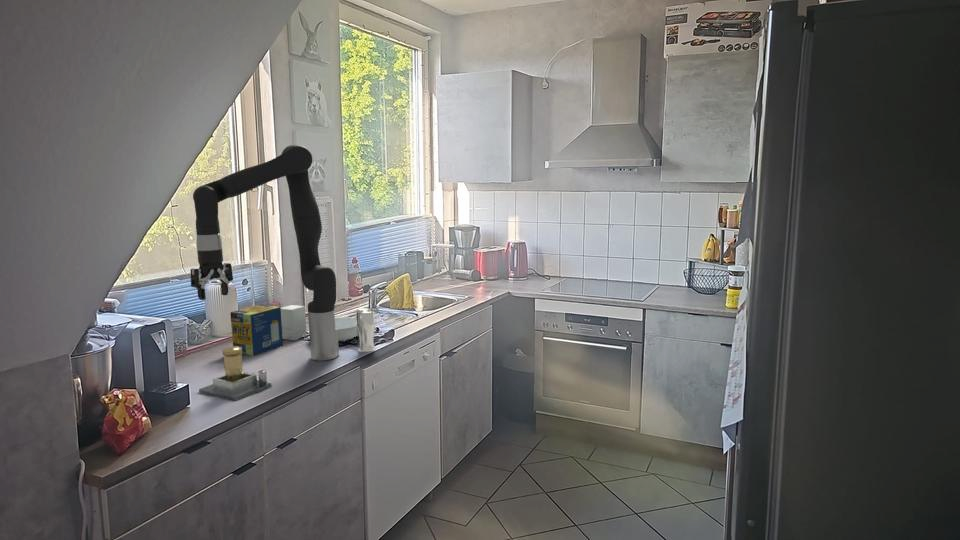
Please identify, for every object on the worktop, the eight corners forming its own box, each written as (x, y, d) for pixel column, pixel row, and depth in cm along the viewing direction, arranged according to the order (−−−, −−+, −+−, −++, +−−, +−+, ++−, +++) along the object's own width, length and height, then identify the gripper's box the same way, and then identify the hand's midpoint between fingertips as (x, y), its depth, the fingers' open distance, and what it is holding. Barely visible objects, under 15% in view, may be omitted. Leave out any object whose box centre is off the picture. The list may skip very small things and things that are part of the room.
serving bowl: (370, 332, 264) (370, 316, 263) (356, 347, 244) (355, 329, 243) (321, 332, 266) (320, 316, 265) (303, 346, 246) (302, 329, 245)
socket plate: (236, 378, 209) (235, 364, 208) (271, 386, 201) (270, 371, 200) (199, 392, 197) (197, 376, 196) (234, 400, 189) (233, 384, 188)
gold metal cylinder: (237, 381, 203) (234, 344, 200) (248, 384, 200) (245, 347, 197) (221, 386, 198) (218, 349, 196) (233, 390, 195) (230, 352, 193)
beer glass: (353, 350, 239) (351, 310, 237) (368, 346, 244) (367, 307, 242) (364, 353, 234) (362, 313, 232) (379, 349, 239) (377, 310, 237)
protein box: (232, 352, 239) (229, 312, 236) (264, 342, 252) (261, 303, 250) (253, 356, 234) (249, 314, 232) (284, 345, 248) (281, 306, 245)
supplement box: (307, 336, 260) (305, 306, 258) (293, 341, 254) (291, 309, 252) (294, 334, 264) (292, 304, 262) (280, 338, 257) (278, 307, 255)
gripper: (198, 251, 199) (202, 302, 202) (235, 246, 212) (239, 294, 214) (182, 250, 203) (187, 300, 206) (220, 245, 215) (224, 292, 218)
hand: (213, 297), depth 210 cm, fingers open, 8 cm apart
